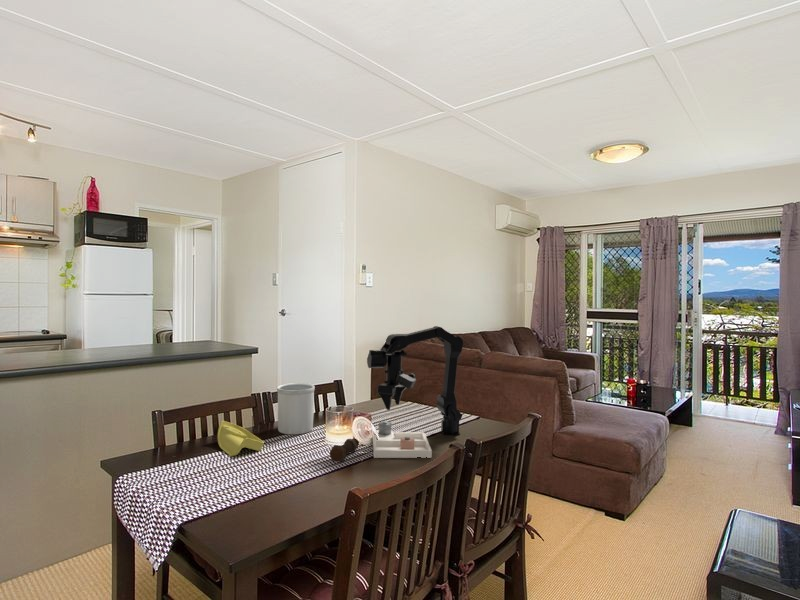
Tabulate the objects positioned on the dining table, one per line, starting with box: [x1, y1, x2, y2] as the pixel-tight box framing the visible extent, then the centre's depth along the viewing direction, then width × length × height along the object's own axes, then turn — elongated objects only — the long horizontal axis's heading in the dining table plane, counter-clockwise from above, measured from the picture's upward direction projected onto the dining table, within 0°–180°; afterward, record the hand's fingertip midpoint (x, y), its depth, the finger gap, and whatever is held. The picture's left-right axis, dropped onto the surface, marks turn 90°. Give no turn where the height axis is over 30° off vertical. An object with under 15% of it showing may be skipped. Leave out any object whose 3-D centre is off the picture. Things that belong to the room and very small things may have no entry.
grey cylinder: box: [378, 420, 392, 435], centre depth 184 cm, size 5×5×5 cm
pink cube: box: [400, 437, 415, 450], centre depth 166 cm, size 5×5×5 cm
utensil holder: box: [276, 382, 316, 435], centre depth 187 cm, size 15×15×18 cm
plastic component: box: [217, 420, 265, 457], centre depth 166 cm, size 20×7×10 cm
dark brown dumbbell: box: [329, 437, 360, 463], centre depth 162 cm, size 6×5×15 cm
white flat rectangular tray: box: [372, 429, 433, 459], centre depth 174 cm, size 20×29×2 cm
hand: (392, 407), depth 181 cm, fingers open, 9 cm apart
